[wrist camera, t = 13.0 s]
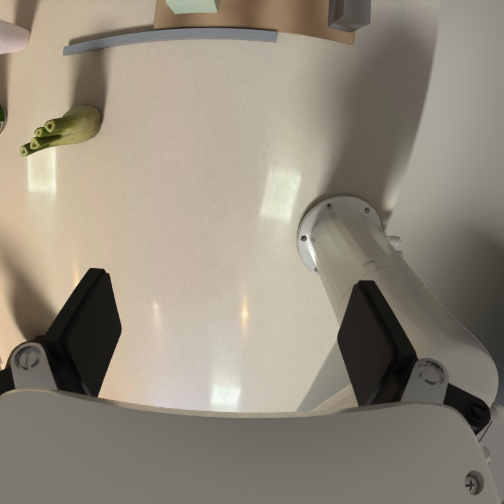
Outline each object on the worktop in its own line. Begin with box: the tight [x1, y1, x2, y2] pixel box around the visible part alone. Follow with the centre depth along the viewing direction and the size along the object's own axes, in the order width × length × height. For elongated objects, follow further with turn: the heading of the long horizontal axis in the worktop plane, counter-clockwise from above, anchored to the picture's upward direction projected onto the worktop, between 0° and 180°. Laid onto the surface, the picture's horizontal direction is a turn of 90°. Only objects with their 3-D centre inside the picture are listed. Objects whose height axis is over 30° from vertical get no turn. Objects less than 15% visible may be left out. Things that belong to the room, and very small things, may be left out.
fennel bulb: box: [20, 105, 101, 156], centre depth 27 cm, size 6×5×12 cm
